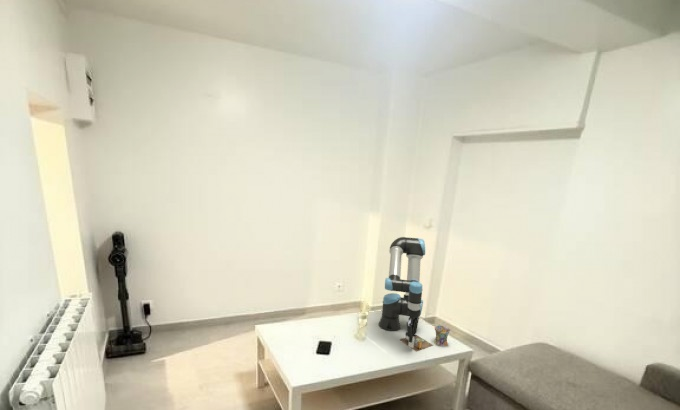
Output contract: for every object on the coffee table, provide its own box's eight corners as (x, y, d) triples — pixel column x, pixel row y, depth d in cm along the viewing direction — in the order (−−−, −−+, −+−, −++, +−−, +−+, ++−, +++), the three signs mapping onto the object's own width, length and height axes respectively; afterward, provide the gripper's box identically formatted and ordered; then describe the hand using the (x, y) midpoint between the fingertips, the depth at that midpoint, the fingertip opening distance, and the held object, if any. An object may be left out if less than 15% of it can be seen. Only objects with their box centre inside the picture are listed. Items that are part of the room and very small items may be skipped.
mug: (451, 348, 198) (452, 332, 197) (437, 349, 196) (439, 332, 195) (441, 338, 210) (443, 323, 209) (428, 339, 208) (429, 323, 207)
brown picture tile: (399, 341, 203) (399, 339, 203) (415, 336, 211) (415, 334, 211) (416, 353, 190) (416, 351, 190) (433, 347, 198) (433, 345, 198)
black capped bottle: (403, 340, 202) (404, 331, 201) (408, 338, 204) (409, 330, 204) (417, 349, 192) (418, 340, 191) (422, 347, 194) (423, 339, 194)
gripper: (415, 313, 181) (412, 353, 184) (424, 307, 192) (421, 344, 194) (403, 309, 186) (400, 348, 188) (412, 303, 196) (409, 340, 198)
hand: (410, 346), depth 191 cm, fingers closed
